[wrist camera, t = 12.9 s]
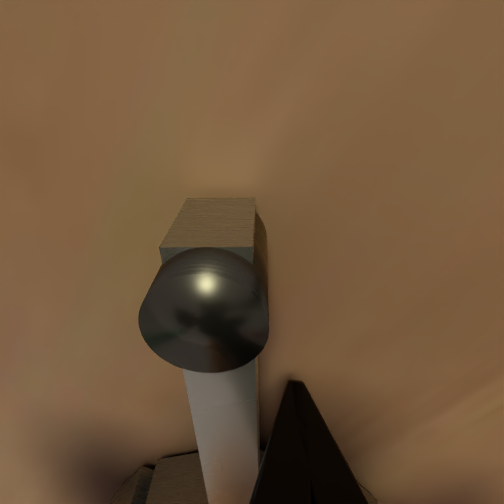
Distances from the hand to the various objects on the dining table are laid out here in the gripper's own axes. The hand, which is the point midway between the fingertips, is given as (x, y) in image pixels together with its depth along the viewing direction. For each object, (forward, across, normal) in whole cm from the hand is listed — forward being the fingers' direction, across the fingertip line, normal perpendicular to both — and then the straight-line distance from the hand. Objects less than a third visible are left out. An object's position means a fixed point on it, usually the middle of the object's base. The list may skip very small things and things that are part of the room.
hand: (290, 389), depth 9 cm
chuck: (+1, +1, +6) cm, 6 cm away
